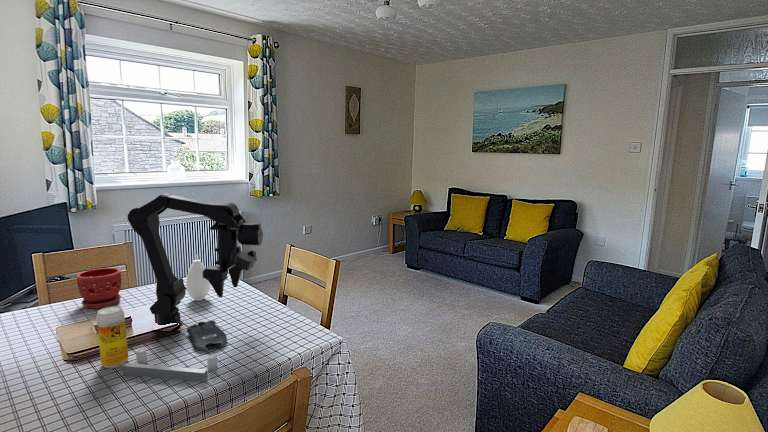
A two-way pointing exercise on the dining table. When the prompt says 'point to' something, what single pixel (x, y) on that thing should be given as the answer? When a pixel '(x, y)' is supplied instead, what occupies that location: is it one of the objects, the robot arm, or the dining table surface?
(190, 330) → the electronic device
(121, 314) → the yellow pill bottle
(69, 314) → the dining table surface
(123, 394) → the dining table surface
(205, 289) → the sauce bottle
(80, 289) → the plant pot
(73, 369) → the dining table surface
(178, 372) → the dock
